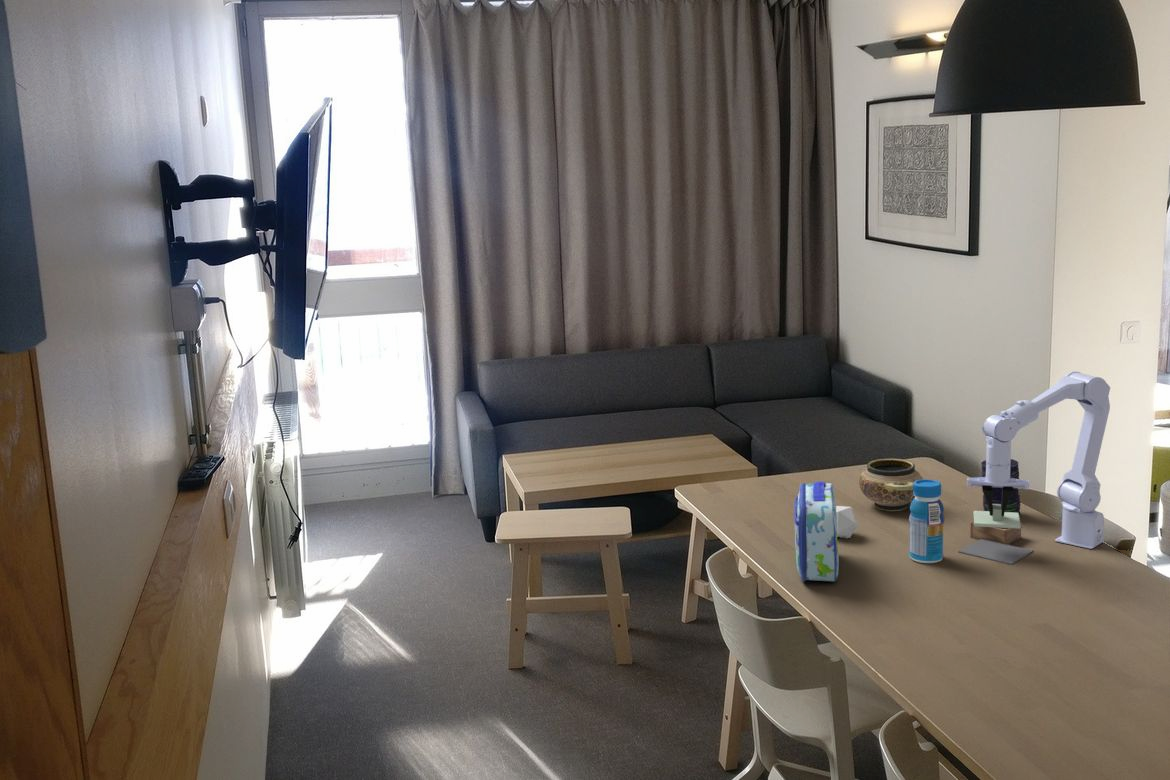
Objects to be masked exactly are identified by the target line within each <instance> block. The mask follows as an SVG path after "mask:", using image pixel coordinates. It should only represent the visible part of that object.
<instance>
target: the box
mask: <svg viewBox="0 0 1170 780" xmlns="http://www.w3.org/2000/svg"><path fill="white" fill-rule="evenodd" d="M1020 524H1021V525H1022V522H1020ZM970 538H972V539H976V540H980V539H985V540H989V541H994V542H998V543H1003V544H1007V545H1008V544H1009V545H1011V544H1012V543H1014V542H1015V541H1018V540H1019V539H1021V538H1022V528H1021V529H1020V528H1000V527H980V526H974V521H972V522H970Z"/></svg>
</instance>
